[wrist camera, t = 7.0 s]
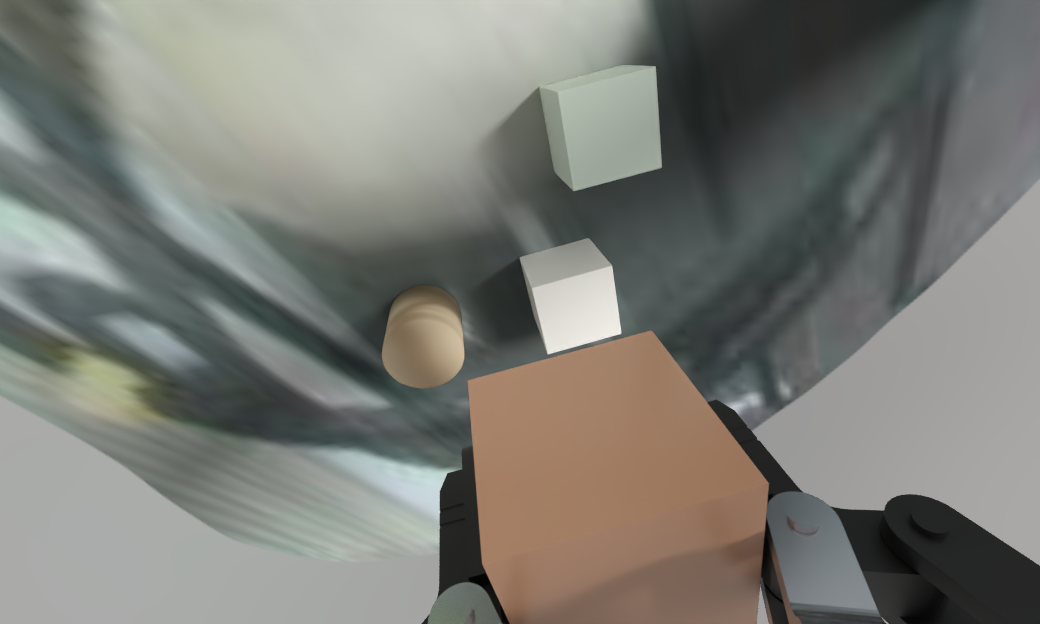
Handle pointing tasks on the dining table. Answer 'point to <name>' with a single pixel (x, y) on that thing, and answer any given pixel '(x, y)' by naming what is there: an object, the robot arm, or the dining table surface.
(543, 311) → the cream block
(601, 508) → the terracotta block
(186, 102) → the dining table surface
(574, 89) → the sage block
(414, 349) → the maple cylinder
